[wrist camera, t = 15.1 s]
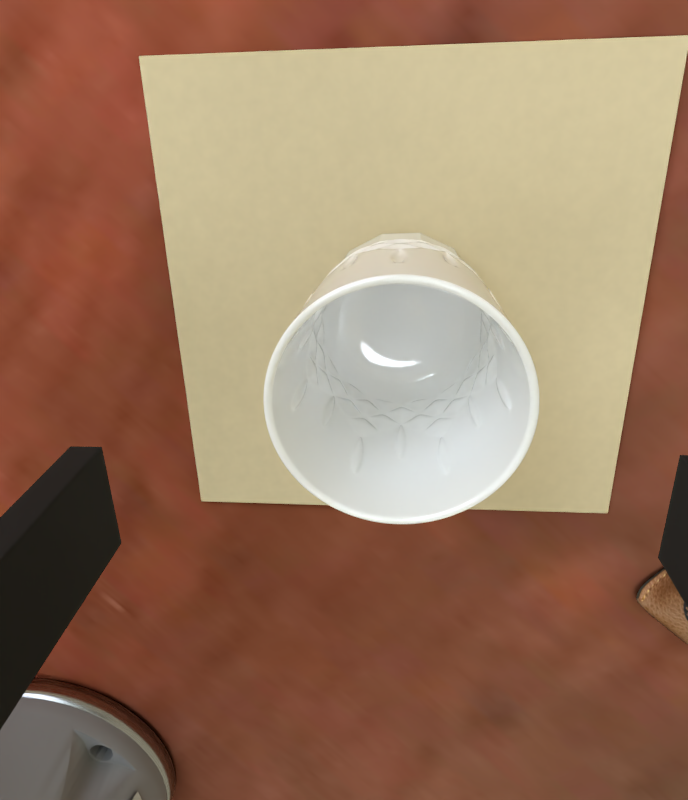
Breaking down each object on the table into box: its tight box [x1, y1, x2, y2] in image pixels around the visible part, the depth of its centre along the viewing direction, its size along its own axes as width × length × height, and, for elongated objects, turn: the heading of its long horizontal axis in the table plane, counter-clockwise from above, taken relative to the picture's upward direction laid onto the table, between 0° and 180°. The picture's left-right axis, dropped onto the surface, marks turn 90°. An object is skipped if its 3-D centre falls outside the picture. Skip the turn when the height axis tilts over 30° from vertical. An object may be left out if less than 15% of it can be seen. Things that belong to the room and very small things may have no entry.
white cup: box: [263, 233, 540, 524], centre depth 23 cm, size 8×8×10 cm
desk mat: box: [139, 35, 688, 513], centre depth 28 cm, size 20×20×1 cm
